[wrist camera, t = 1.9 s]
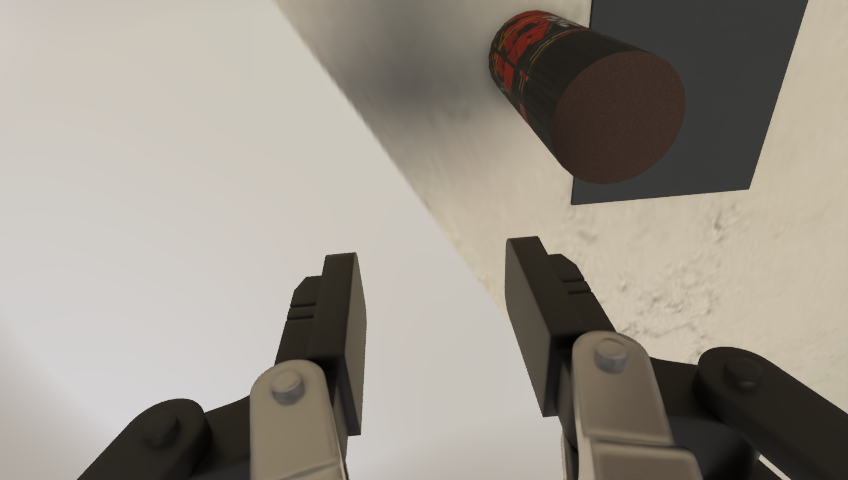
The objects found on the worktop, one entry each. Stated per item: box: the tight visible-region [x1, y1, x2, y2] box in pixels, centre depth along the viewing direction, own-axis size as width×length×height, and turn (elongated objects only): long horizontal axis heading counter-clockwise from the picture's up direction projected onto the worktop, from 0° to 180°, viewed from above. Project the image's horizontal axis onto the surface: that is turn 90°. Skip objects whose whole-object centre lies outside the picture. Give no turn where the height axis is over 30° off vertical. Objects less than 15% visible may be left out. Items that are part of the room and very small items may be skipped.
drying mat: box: [571, 0, 808, 205], centre depth 35 cm, size 20×15×1 cm
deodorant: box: [489, 10, 686, 185], centre depth 27 cm, size 6×6×15 cm
